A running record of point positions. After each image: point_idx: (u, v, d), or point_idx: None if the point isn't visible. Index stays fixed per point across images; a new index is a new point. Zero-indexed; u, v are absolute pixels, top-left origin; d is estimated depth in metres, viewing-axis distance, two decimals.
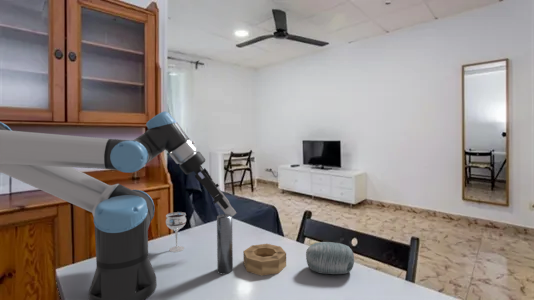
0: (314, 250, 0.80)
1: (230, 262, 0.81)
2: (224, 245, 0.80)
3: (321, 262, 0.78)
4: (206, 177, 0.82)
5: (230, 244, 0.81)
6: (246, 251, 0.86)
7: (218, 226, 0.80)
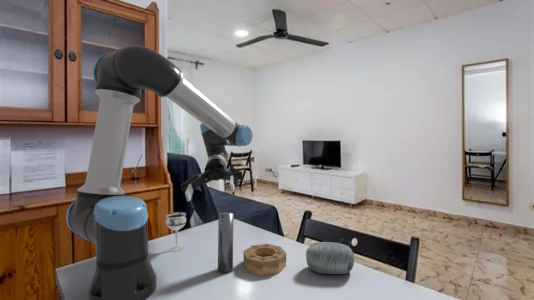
0: (314, 250, 0.80)
1: (230, 260, 0.82)
2: (225, 241, 0.81)
3: (321, 262, 0.78)
4: None
5: (231, 241, 0.82)
6: (246, 251, 0.86)
7: (220, 222, 0.82)
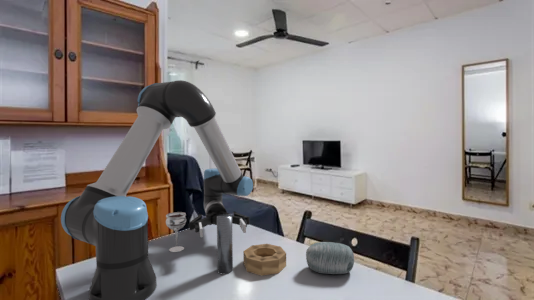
0: (314, 250, 0.80)
1: (230, 262, 0.81)
2: (224, 245, 0.80)
3: (321, 262, 0.78)
4: None
5: (230, 244, 0.81)
6: (246, 251, 0.86)
7: (218, 226, 0.80)
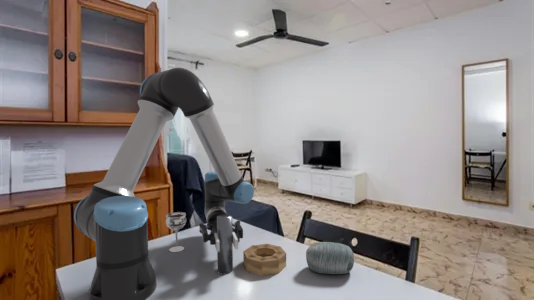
0: (314, 250, 0.80)
1: (230, 262, 0.81)
2: (224, 245, 0.80)
3: (321, 262, 0.78)
4: None
5: (230, 244, 0.81)
6: (246, 251, 0.86)
7: (218, 226, 0.80)
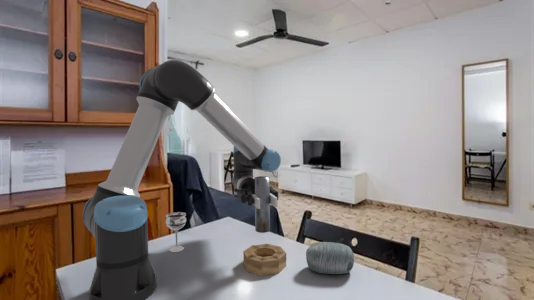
0: (314, 250, 0.80)
1: (268, 221, 0.84)
2: (263, 204, 0.83)
3: (321, 262, 0.78)
4: None
5: (268, 204, 0.84)
6: (246, 251, 0.86)
7: (257, 186, 0.83)
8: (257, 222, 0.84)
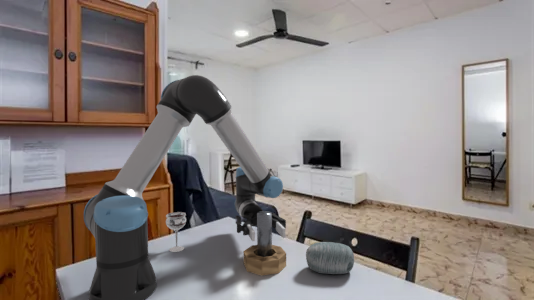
0: (314, 250, 0.80)
1: None
2: (265, 240, 0.84)
3: (321, 262, 0.78)
4: None
5: (270, 239, 0.84)
6: (246, 251, 0.86)
7: (259, 222, 0.84)
8: None
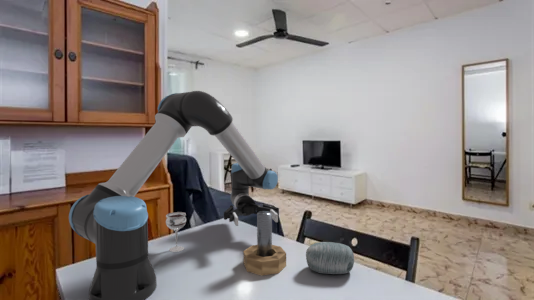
0: (314, 250, 0.80)
1: None
2: (265, 240, 0.84)
3: (321, 262, 0.78)
4: None
5: (270, 239, 0.85)
6: (246, 251, 0.86)
7: (259, 222, 0.84)
8: None
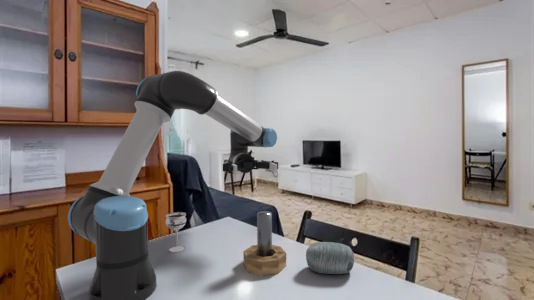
0: (314, 250, 0.80)
1: None
2: (265, 240, 0.84)
3: (321, 262, 0.78)
4: None
5: (270, 239, 0.85)
6: (246, 251, 0.86)
7: (259, 222, 0.84)
8: None
